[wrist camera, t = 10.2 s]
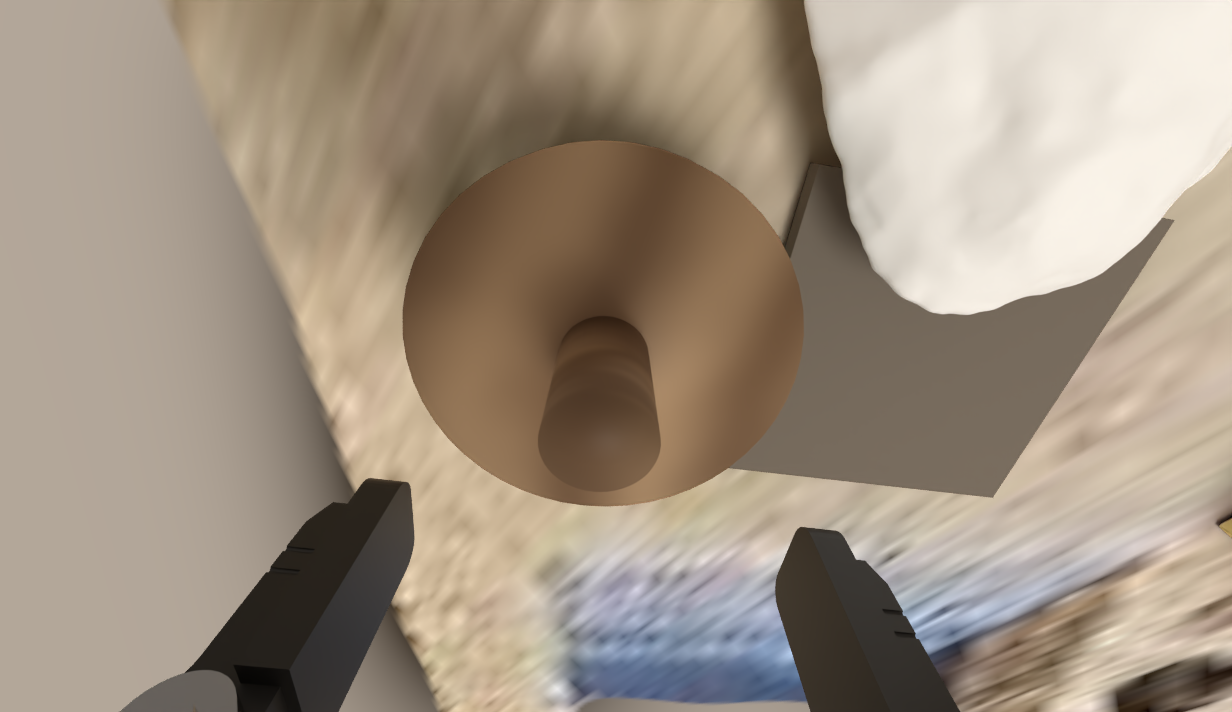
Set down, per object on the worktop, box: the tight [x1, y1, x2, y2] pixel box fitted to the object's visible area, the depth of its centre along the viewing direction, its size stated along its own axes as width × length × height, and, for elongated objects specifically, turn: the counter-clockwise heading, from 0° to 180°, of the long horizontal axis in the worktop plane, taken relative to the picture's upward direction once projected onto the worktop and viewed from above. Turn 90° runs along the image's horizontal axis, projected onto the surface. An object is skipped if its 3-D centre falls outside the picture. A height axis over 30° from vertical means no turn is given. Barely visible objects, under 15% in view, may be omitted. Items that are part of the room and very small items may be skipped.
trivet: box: [729, 163, 1174, 498], centre depth 24 cm, size 16×16×1 cm
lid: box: [403, 140, 804, 506], centre depth 15 cm, size 14×14×6 cm
